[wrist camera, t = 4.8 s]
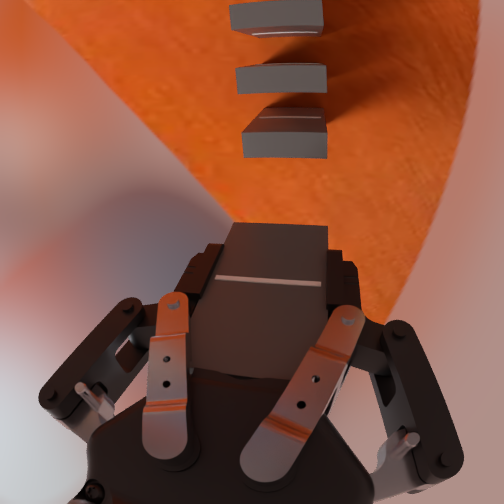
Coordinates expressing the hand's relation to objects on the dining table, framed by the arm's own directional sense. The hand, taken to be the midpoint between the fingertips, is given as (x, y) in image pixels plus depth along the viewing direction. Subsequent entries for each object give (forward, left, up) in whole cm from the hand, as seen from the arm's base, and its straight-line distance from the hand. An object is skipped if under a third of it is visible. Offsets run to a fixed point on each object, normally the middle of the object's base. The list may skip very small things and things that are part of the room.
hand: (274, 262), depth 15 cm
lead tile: (0, 0, -2) cm, 2 cm away
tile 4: (-12, 0, -15) cm, 19 cm away
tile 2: (-4, 0, -15) cm, 16 cm away
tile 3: (-8, 0, -15) cm, 17 cm away
